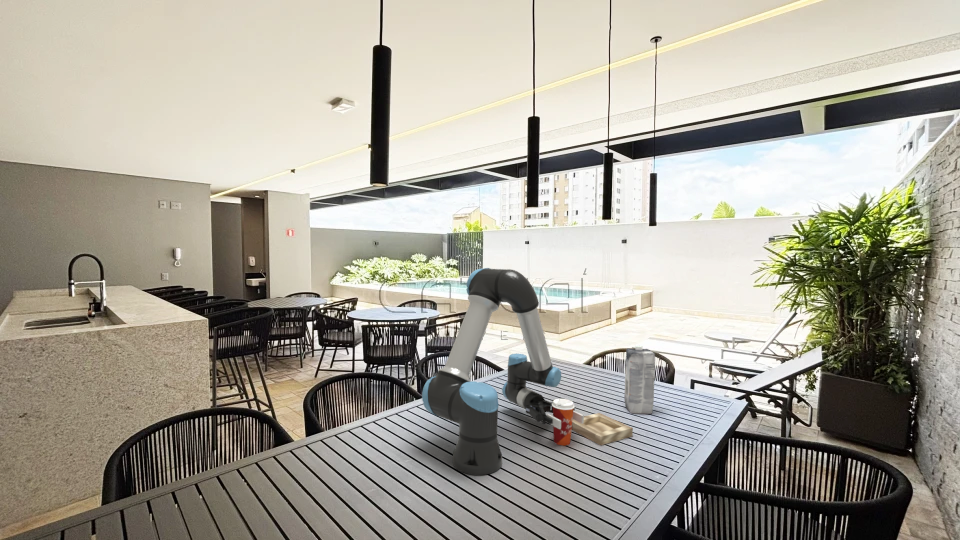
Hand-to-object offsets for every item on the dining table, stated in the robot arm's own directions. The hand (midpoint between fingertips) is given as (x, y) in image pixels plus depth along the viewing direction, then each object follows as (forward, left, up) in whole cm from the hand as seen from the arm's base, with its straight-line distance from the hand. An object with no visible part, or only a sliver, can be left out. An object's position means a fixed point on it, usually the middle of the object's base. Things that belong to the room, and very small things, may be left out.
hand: (571, 422), depth 137 cm
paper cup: (0, +4, -9) cm, 10 cm away
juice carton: (+49, +12, -9) cm, 51 cm away
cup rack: (+18, +4, -8) cm, 20 cm away
